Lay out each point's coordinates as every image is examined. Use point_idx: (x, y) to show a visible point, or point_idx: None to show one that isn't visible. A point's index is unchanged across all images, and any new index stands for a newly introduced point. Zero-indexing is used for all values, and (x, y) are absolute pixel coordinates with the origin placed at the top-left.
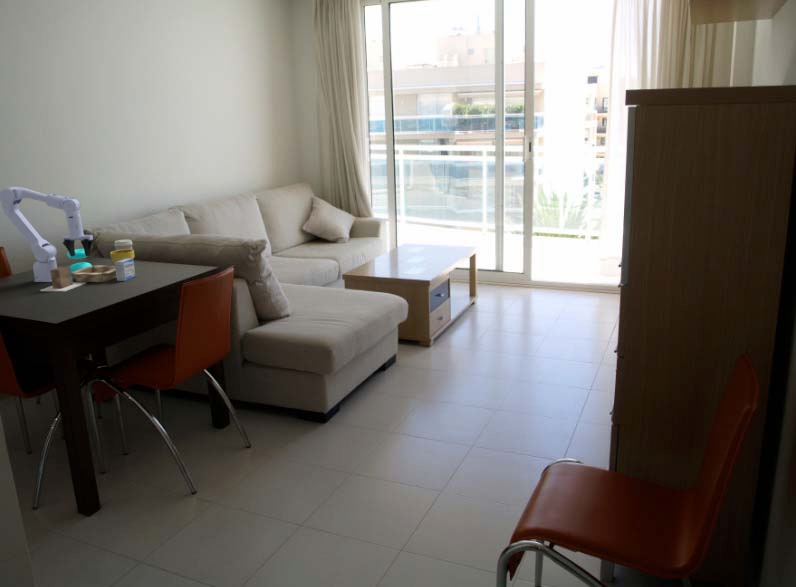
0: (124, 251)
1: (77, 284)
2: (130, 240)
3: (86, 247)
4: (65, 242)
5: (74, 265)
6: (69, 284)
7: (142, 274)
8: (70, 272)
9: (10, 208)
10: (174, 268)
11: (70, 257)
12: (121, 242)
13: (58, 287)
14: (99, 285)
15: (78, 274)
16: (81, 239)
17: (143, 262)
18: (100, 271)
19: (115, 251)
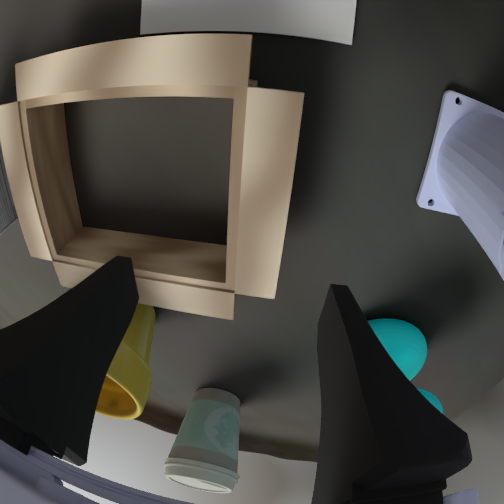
0: (117, 408)
1: None
2: (167, 478)
3: (29, 316)
4: (412, 462)
5: (399, 354)
6: None
7: (19, 244)
8: None
9: None
10: (10, 311)
11: (420, 389)
12: (181, 473)
13: None
14: (40, 17)
15: (172, 35)
16: (85, 478)
17: (175, 406)
18: (176, 255)
19: (136, 408)
